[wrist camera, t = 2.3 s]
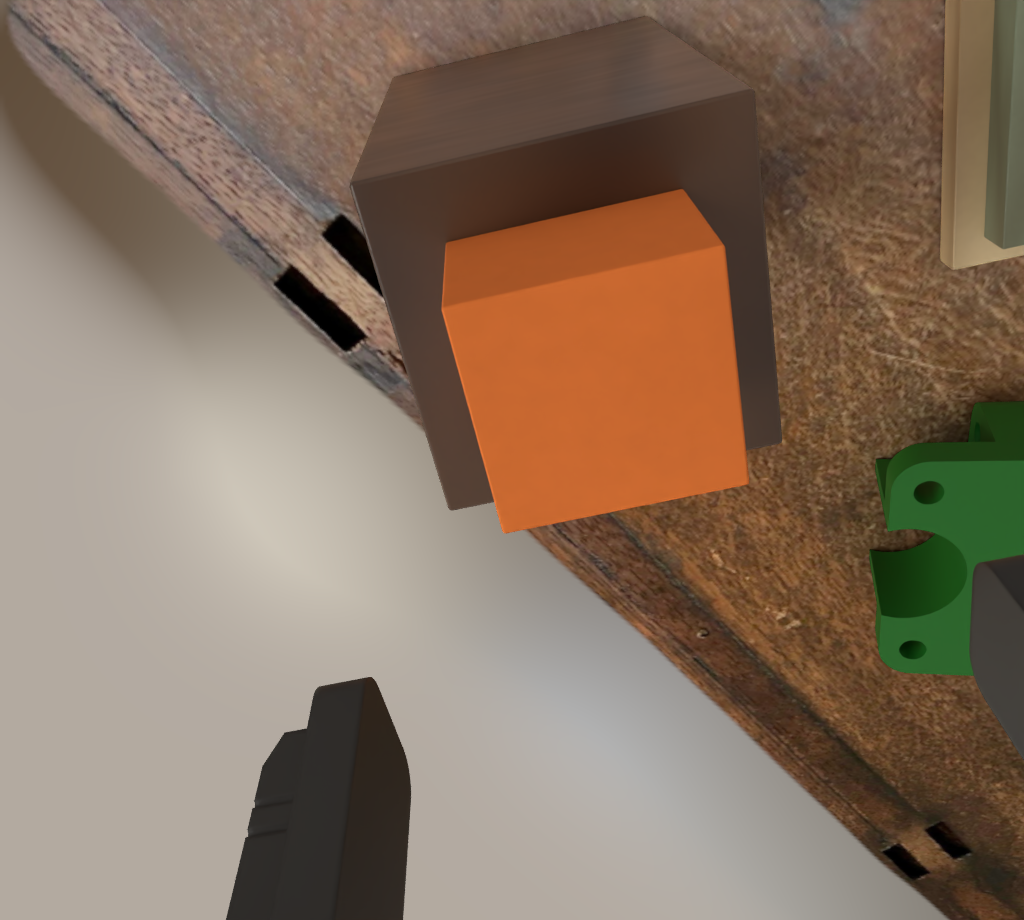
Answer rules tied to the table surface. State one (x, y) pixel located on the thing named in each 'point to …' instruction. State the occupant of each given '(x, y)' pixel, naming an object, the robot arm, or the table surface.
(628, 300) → the orange square block
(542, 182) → the stand
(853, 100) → the table surface
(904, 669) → the clamp
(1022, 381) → the table surface
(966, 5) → the square tray
